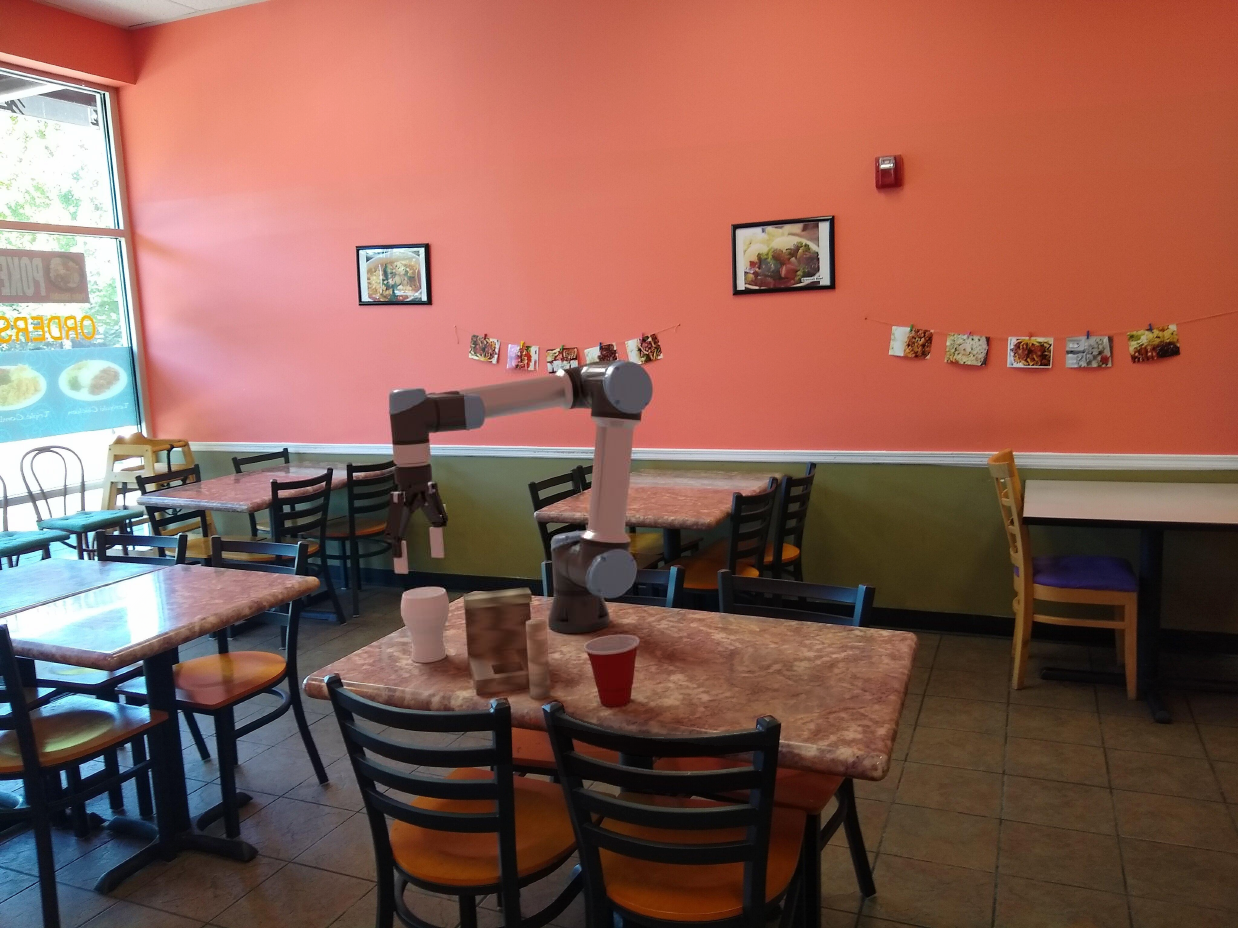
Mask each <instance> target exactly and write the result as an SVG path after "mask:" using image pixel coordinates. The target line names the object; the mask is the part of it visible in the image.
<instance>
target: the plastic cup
mask: <svg viewBox="0 0 1238 928" xmlns="http://www.w3.org/2000/svg"><path fill="white" fill-rule="evenodd" d="M639 644H640V638H639V637H637V636H636V635H632V634H612V635H611V634H610V635H605V636H600V637H597V638H594V639H591V640H589V641H587V642H585V643H584V645H583V646H582V648H583V650H584V651H585V652H586V653H587V656H588V659H589V660H588V661H589V662H590V666H591V671H592V673H593V678H594V683H595V686H596V689H597V694H598V699H599V701H600V703H601V705H603V706H605V707H609V708H619V707H620V708H621V707H623V706H627V705H629V704H630V703H631V698H632V691H633V690H632V689H633V685H634V678H635V667H636V658H637V651H638V646H639Z"/></svg>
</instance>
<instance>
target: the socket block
mask: <svg viewBox="0 0 1238 928" xmlns="http://www.w3.org/2000/svg"><path fill="white" fill-rule="evenodd" d="M532 599H533V597H532V592H531V590H530V588H529V587H518V588H510V589H508V588H507V589H500V590H492V591H491V590H490V591H482V592H472V593H463V605H464V607H463V609H464V622H465V635H466V638H465V639H466V651H467V666H468V669H469V672H470V677H471V680H472V683H473V686H474V687H473V688H474V690H475V694H476V695H478V696H479V695H487V694H494V693H502V692H509V691H514V690H515V691H516V690H525V689H530V685H529V668H528V650H527V633H526V622H527V621H529V620H532V615H531V613H532V611H531V603H532V602H533V600H532Z"/></svg>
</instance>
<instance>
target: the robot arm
mask: <svg viewBox="0 0 1238 928" xmlns="http://www.w3.org/2000/svg"><path fill="white" fill-rule="evenodd" d="M653 390H654V387H653V383H652V379H651V376H650V374H649V373H648V371H646V369H645V368H644V367H643V366H642V365H641V364H639V363H637V362H634V361H629V360H624V359H622V360H621V359H620V360H596V361H592V362H587V363H583V364H581V365H577V366H573V367H569V368H564V369H558V370H556V372H555V374H553V375H545V376H539V377H534V378H533V377H532V378H527V379H526V378H525V379H520V380H514V381H508V382H506V381H505V382H501V383H494V384H488V385H483V386H482V385H481V386H476V387H475V386H474V387H469V388H468V387H467V388H462V389H456V390H449V391H444V392H437V393H436V392H430V393H427V391H426V390H425V388H422V387H412V388H398V389H397V388H396V389H392V390H391V392H390V393H388V394H389V395H388V408H389V409H388V415H389V420H390V422H389V423H390V430H391V431H390V432H391V433H390V434H391V442H392V443H391V444H392V452H393V454H392V455H393V456H392V457H393V463H394V465H395V464H396V465H395V466H394V468H393V469H394V470H393V471H394V472H393V473H394V483H395V484H396V485H399V488H400V489H399V490H400V491H391V492H390V495H389V496H390V497H389V498H390V500H389V501H390V504H389V510H388V514H387V519H386V525H385V528H384V534H383V540H384V541H386V542H389V543H390V544H391V548H392V550H391V553H392V557H393V566H394V573H395V574H406V575H407V574H409V565H408V564H409V563H408V553H407V552H408V550H407V541H406V540H404V538H405V535H406V532H407V529H408V526H409V525H410V521H411V518H412V515H413V514H414V513H415V512H416V511H417V510H419V509H420V510H421V511H422V513H423V515H424V516H425V517H426V519H427V521H428V522H429V523H430V525H431V527H429V543H430V551H431V552H430V553H431V554H430V555H431V558H438V559H443V558H445V550H444V549H445V545H444V533H443V532H444V530H443V527H447V526H448V522H449V517H448V513H447V511H446V508H445V506H444V503H443V501H442V498H441V496H440V493H439V488H438V483H437V482H436V481H433V471H432V467H433V466H432V464H431V463H430V462H431V460H432V455H431V453H432V451H431V444H430V434H436V433H444V432H446V433H447V432H458V431H459V432H461V431H470V430H477V429H481V428H482V427H483V425H484V423H485V420H488V419H495V418H500V417H507V416H512V415H519V414H524V413H531V412H537V411H541V410H543V411H544V410H548V409H555V408H561V409H562V410H564V411H569V410H574V409H583V410H584V409H585V410H587V409H588V410H591V411H590V418H591V420H592V421H593V422H594V423H595V426H596V428H595V438H594V450H593V451H594V452H593V463H592V464H593V465H592V474H591V475H592V476H591V477H592V478H591V485H590V486H591V487H590V500H589V511H588V521H587V522H588V524H587V529H586V530H579V531H578V530H577V531H571V532H563V533H559V534H556V535H554V536H553V537H552V538H551V543H550V544H551V548H550V553H551V563H552V564H551V565H552V567H551V568H552V581H553V598H552V602H551V605H550V608H549V609H550V610H549V613H548V617H547V621H548V623H547V625H548V628H549V629H551V630H552V631H555V632H559V633H565V634H583V633H590V632H591V633H592V632H597V631H600V630H602V629H605V628H606V627H608V626H609V625H610V623H611V619H610V617H611V616H610V615H611V614H610V611H609V609H608V606H607V604H606V601H605V599H615V598H619V597H620V596H622V595H624V594H625V593H626V592H627V591H628V590H629V589H631V587H632V586H633V584H634V582H635V580H636V578H637V577H636V576H637V573H638V572H637V571H638V567H637V562H636V560H635V559H634V556H633V555H632V553H630V550H631V549H630V548H631V538H630V536H628V534H627V533H626V531H625V530H626V521H627V512H628V511H627V509H628V496H629V488H630V487H629V486H630V476H631V475H630V474H631V462H632V452H633V441H634V430H635V428H636V427H637V426H638V425H639V424H640V423H641V422H642V413H643V410H645V409H646V407H647V406H648V405H649V404H650V403H651V400H652V398H653V392H654V391H653ZM604 598H605V599H604Z"/></svg>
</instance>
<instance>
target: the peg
mask: <svg viewBox="0 0 1238 928" xmlns="http://www.w3.org/2000/svg"><path fill="white" fill-rule="evenodd" d="M547 625H548V623H547V620H546V619H545V618H544V619H543V618H534V619H532V618H531V620H529V621H527V622H526V633H527V650H528V668H529V685H530V688H529V695H530V699H531V700H535V701H540V700H546V699H548V698H550V697H551V679H550V676H551V675H550V662H549V661H550V659H549V646H548V645H549V643H548V628H547V627H548V626H547Z"/></svg>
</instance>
